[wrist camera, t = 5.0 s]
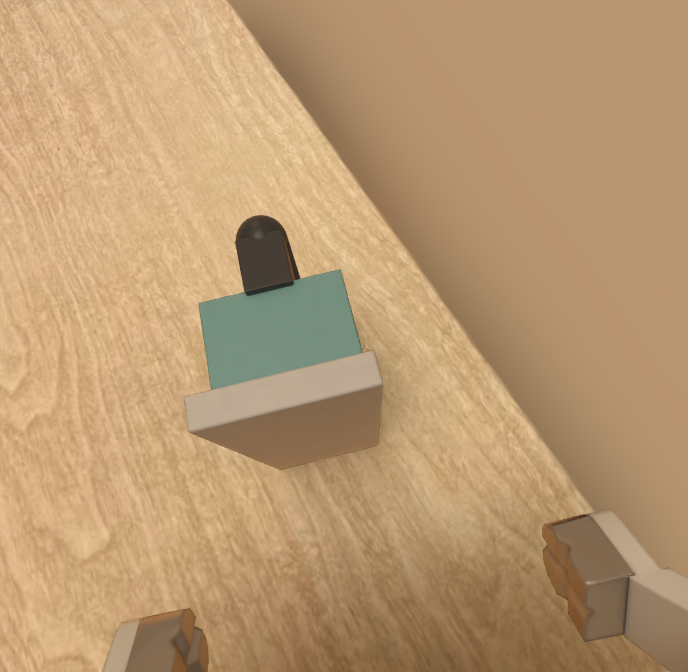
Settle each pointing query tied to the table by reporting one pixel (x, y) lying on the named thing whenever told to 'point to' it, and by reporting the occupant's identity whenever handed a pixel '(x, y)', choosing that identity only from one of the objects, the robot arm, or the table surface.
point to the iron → (284, 361)
